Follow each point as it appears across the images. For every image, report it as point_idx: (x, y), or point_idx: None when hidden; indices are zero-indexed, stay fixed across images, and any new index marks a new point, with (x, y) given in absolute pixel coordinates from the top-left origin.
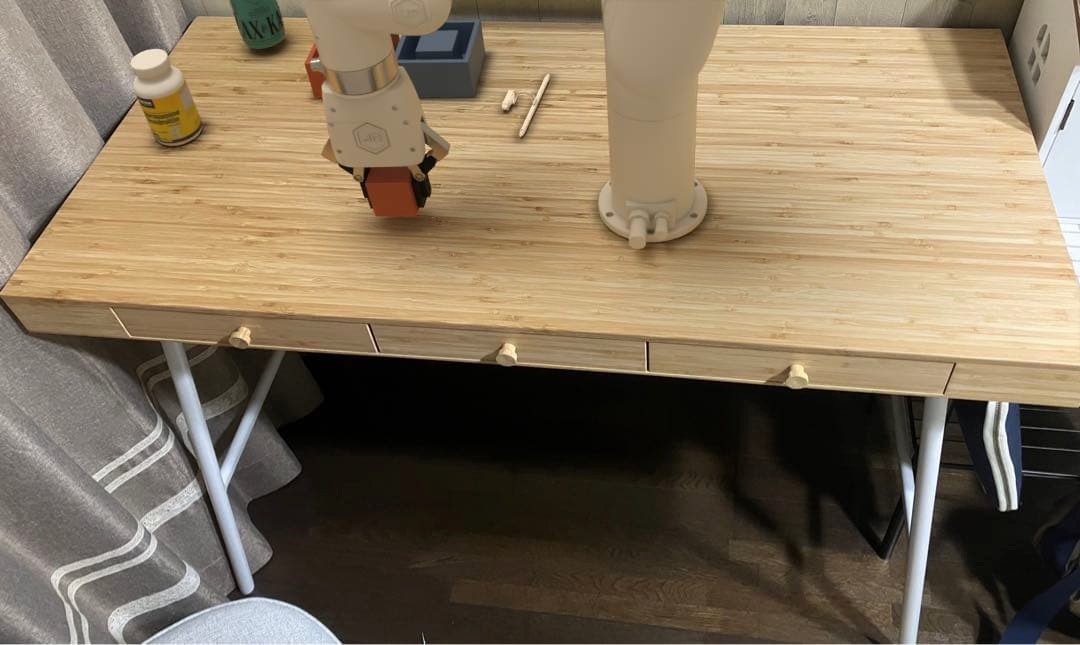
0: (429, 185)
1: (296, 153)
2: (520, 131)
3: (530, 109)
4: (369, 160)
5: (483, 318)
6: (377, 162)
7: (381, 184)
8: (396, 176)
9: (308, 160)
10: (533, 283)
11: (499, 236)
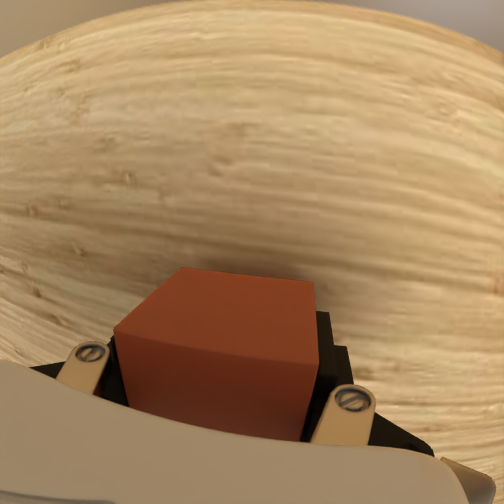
0: None
1: (457, 460)
2: None
3: None
4: (208, 479)
5: (78, 28)
6: (156, 448)
7: (233, 348)
8: (171, 378)
9: (445, 452)
10: (21, 119)
11: (64, 231)
